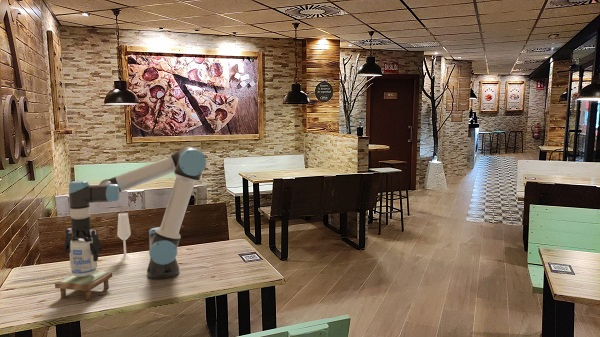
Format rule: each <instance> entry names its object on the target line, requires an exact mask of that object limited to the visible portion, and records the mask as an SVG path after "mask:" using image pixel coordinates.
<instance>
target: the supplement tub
mask: <svg viewBox="0 0 600 337" xmlns="http://www.w3.org/2000/svg"><path fill="white" fill-rule="evenodd" d="M92 243H93V240H92V241H90V242H86V241H84V239H81V238H79V239H78V240H76V241H72V240H71V245H70V252H71V268H70V269H71V271H70V272H71V275H74V276H78V277H82V276H88V275H91V274H93V273H94V272H95V271H96V270H97V268H95V269H92V267H91V254H92V252H91V250H90V244H92Z"/></svg>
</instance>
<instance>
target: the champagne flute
mask: <svg viewBox="0 0 600 337" xmlns="http://www.w3.org/2000/svg"><path fill="white" fill-rule="evenodd" d="M117 217H118V218H117V237H118V238H119V239H121V240H122V242H123V243H122V244H123V254H122V255H120V256H119V257H118V259H119V260H129V259H131V258H133V255H130V254H128V253H127V244H126V240H128V238H130V236H131V234H132V233H131V227H130V226H131V225H130V220H129V213H128V212H122V213H118V215H117ZM128 258H129V259H128Z"/></svg>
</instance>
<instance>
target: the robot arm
mask: <svg viewBox="0 0 600 337" xmlns="http://www.w3.org/2000/svg"><path fill="white" fill-rule="evenodd" d="M206 166H207V158H206V155H205V154H204V152H203V151H201V150H200V149H198V148H197V147H194V146H187V147H183V148H182V149H180V150H177V151H175V152H173V153H170V154H169V155H168V157H165V158H163V159H160V160H157V161H155V162H152V163H149V164H146V165H143V166H141V167H138V168H136V169H132V170H130V171H128V172H124V173H122V174H119V175H116V176H114V177H111V178H105V179H103V180H101V181H100V183H99V184H92V185H91V184H89V182H88V180H81V179H80V180H73V181H70V182H69V184H68V198H69V213H70V216H69V217H70V226H71V227H69V228H67V229H65V230H64V231H65V238H64V244H63V251H64V252H67V255H68V256H67V257H68V260H69V264H70V269H71V252H70V245H71V241H76V240H78V239H79V238H81V239H84V241H86V242H90V241H92V240H93V243H92V244H90V250H91V252H92V254H91V267H92V269H95V268H96V269H97V268H98V260H99V253H102V252H103V249H102V244H101V242H100V239H99V234H98V229H96V228H95V229H92V228H91V224H92V220H91V208H90V206H91V205H90V204H91V203H106V202H107V203H108V202H109V203H112V202H118V201H119V200H120V193H122V192H124V191H127V190H130V189H132V188H135V187H137V186H138V187H139V186H141V185H143V184H146V183H148V182H152V181H155V180H156V179H159V178H162V177H165V176H167V175H170V174H173V173H174V176H175V179H174V180H175V181H174V184H173V185H172V186H173V187H172V190H171V194H170V196H169V199H168V203H167V204H166V207H165V210H164V214H163V218H162V221H161V224H160V226H157V227H152V228H150V229H149V231H148V232H149V233H148V236H149V253H148V254H149V259H150V260H149V262H148V267H147V268H146V269H147V270H146V275H147V277H148V278H150V279H157V280H162V279H169V278H172V277H175V276H177V275H179V274H180V266H179V263H178V260H177V255H178V247H179V243H180V240H181V237H182V236H181V234H180V229H181V227H182V223H183V221H184V219H185V218H184V217H185V214H186V211H187V208H188V205H189V202H190V199H191V196H192V193H193V190H194V186H195V184H196V183H197V182H199V181H200V179H201V177H202V173H203V172H204V171H205V168H206Z"/></svg>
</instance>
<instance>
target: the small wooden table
mask: <svg viewBox="0 0 600 337" xmlns="http://www.w3.org/2000/svg"><path fill="white" fill-rule="evenodd" d="M112 278H113V271H112V272H110V271H102V270H101V271H95V272H94V273H93V274H91V275H88V276H82V277H78V276H74V275H72V274H70V275H68V276H67V277H64V278H63V279H61V280H58V281H57V282H55V283H54V288H55V289H60V299H63V300H64V299H66V298H67V290H75V291H84V292H85V301H86V302H90V301H92V290H93V289H95V288H96V287H98V286H99V285H101V284H103V290H108V289H109V288H110V287H109V286H110V285H109V284H110V283H109V280H110V279H112Z"/></svg>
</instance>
